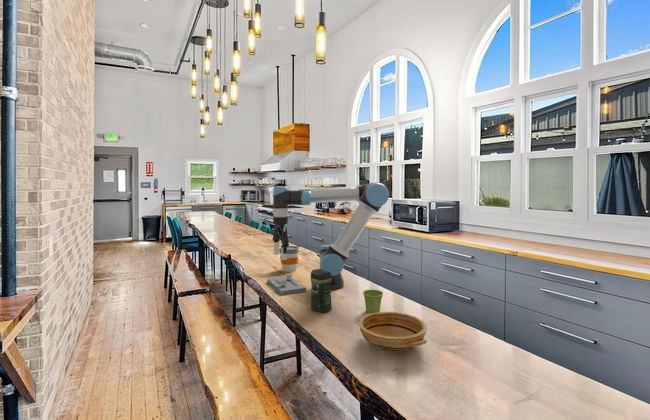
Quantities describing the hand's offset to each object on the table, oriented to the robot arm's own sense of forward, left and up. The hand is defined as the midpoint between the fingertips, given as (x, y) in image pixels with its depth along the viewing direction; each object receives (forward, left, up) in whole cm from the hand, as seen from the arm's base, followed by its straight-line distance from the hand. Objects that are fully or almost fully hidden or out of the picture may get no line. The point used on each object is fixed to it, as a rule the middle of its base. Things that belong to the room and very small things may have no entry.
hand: (280, 257), depth 187 cm
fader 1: (+4, -6, -18) cm, 19 cm away
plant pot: (-51, -5, -20) cm, 55 cm away
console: (+7, -12, -20) cm, 24 cm away
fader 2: (+9, -17, -17) cm, 26 cm away
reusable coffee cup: (+29, -41, -20) cm, 54 cm away
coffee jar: (-30, +6, -20) cm, 37 cm away
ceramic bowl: (-72, +21, -20) cm, 78 cm away
